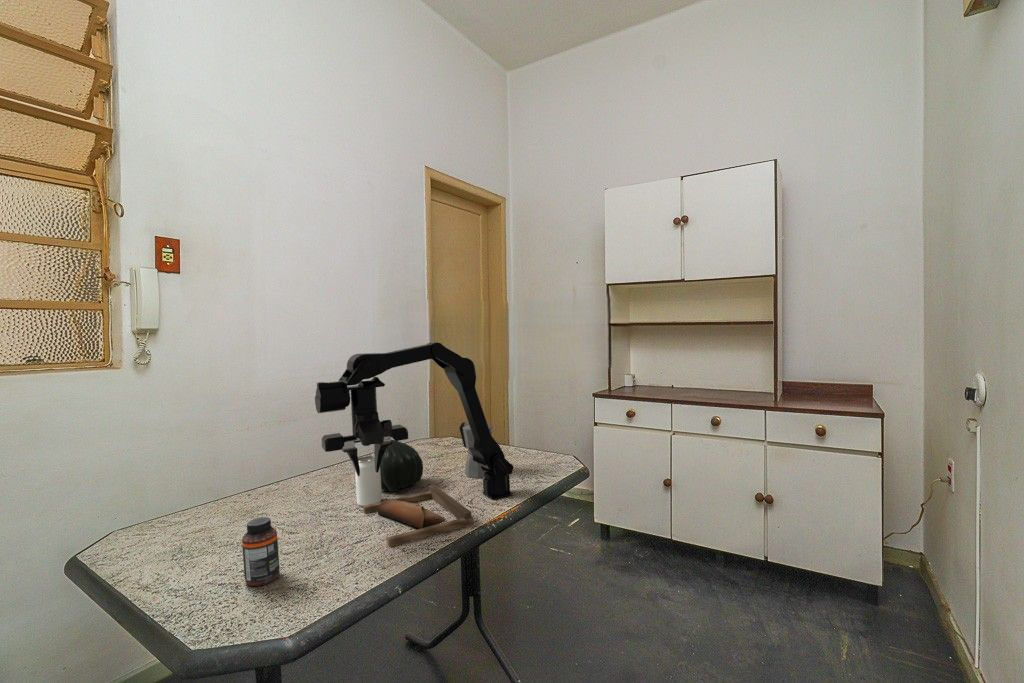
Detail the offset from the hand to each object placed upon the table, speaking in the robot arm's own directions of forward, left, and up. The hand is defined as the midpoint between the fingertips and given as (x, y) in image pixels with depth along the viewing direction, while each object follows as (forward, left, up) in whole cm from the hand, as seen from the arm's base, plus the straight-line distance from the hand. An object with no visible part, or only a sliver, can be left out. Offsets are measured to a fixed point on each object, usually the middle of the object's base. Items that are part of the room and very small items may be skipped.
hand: (367, 473), depth 111 cm
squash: (-14, -26, -13) cm, 32 cm away
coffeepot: (-39, -23, -13) cm, 47 cm away
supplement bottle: (+23, +11, -13) cm, 29 cm away
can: (-4, -18, -13) cm, 23 cm away
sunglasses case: (-10, 0, -14) cm, 17 cm away
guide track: (-11, 0, -13) cm, 17 cm away
